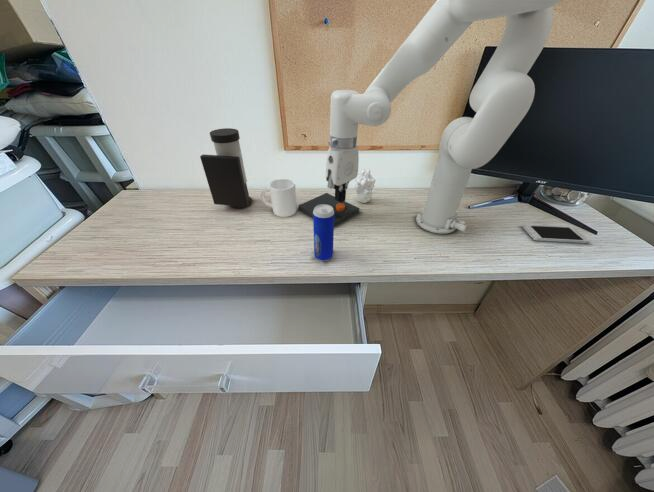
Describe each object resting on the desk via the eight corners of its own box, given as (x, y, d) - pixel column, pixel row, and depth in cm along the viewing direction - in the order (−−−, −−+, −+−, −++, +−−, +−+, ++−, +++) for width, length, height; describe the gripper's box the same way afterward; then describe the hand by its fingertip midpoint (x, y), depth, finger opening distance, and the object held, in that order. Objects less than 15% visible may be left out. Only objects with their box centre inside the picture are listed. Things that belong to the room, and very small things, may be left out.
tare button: (346, 209, 85) (346, 205, 84) (340, 212, 83) (340, 208, 82) (340, 206, 87) (340, 202, 86) (333, 209, 85) (334, 205, 84)
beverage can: (312, 252, 72) (310, 205, 63) (329, 248, 74) (330, 202, 64) (317, 263, 69) (316, 215, 59) (335, 260, 70) (337, 212, 60)
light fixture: (260, 199, 97) (248, 129, 81) (248, 214, 88) (232, 139, 73) (230, 196, 98) (212, 127, 83) (216, 211, 90) (193, 137, 74)
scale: (359, 213, 89) (360, 204, 87) (331, 229, 81) (332, 219, 79) (326, 197, 98) (326, 188, 96) (298, 210, 90) (297, 201, 88)
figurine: (363, 208, 92) (366, 176, 84) (349, 201, 96) (351, 170, 88) (375, 202, 96) (379, 170, 88) (361, 195, 99) (364, 165, 92)
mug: (259, 216, 87) (254, 188, 81) (267, 204, 94) (262, 177, 87) (294, 218, 86) (291, 190, 80) (299, 206, 93) (297, 179, 86)
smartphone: (521, 227, 83) (523, 224, 82) (572, 229, 82) (573, 227, 81) (534, 240, 77) (535, 238, 77) (588, 243, 76) (590, 240, 76)
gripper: (334, 151, 65) (332, 213, 77) (370, 139, 74) (363, 197, 85) (314, 144, 69) (315, 204, 81) (350, 134, 78) (346, 189, 89)
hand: (339, 200), depth 83 cm, fingers closed
